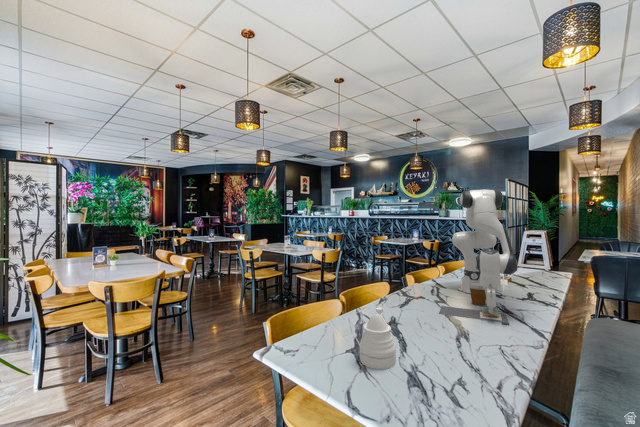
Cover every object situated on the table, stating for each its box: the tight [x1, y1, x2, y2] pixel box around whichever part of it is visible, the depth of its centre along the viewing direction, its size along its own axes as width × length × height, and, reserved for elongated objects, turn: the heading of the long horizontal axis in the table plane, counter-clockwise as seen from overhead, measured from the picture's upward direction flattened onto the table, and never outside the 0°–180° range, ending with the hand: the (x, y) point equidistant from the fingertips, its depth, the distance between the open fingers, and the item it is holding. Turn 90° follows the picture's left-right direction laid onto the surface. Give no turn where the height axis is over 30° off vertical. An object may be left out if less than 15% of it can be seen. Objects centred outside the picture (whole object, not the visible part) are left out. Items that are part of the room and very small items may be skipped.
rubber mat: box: [438, 305, 510, 326], centre depth 150 cm, size 14×30×1 cm, turn 63°
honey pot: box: [359, 306, 397, 370], centre depth 108 cm, size 13×13×18 cm
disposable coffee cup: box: [469, 282, 487, 307], centre depth 165 cm, size 10×10×12 cm
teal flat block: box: [481, 306, 500, 317], centre depth 146 cm, size 7×5×2 cm
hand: (490, 310), depth 146 cm, fingers open, 5 cm apart
